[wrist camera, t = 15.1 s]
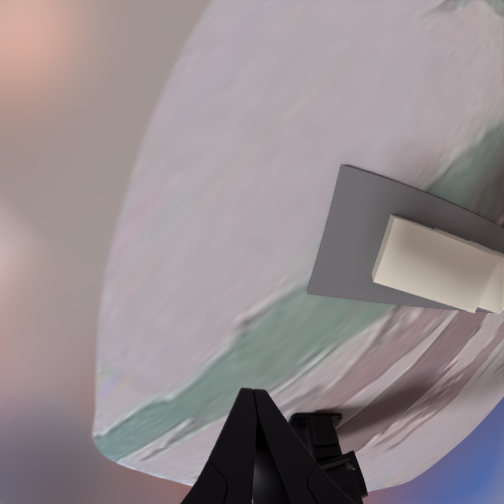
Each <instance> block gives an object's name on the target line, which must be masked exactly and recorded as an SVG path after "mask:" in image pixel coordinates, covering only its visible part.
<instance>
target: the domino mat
mask: <svg viewBox="0 0 504 504" xmlns="http://www.w3.org/2000/svg"><path fill="white" fill-rule="evenodd" d="M390 214H391V215H394V216H397V217H400V218H403V219H406V220H409V221H412V222H415V223H418V224H420V225H423V226H426V227H429V228H431V229H435V228H437V229H439V230H442V231H445V232H447V233H450V234H452V235H455V236H457V237H460V238H462V239H465V240H467V241H470V240H471V241H473V242H475V243H478V244H480V245H482V246H485V247H487V248H489V249H492V250H494V251H495V250H496V251H498V252H501V253H503V254H504V228H502V227H500V226H498V225H496V224H495V223H493V222H491V221H489V220H486V219H484V218H482V217H480V216H478V215H476V214H474V213H472V212H470V211H467V210H465V209H463V208H461V207H458V206H456V205H454V204H452V203H449V202H447V201H444V200H442V199H440V198H437V197H435V196H432V195H430V194H427V193H425V192H422V191H419V190H417V189H414V188H412V187H409V186H406V185H403V184H401V183H398V182H395V181H392V180H389V179H386V178H383V177H380V176H377V175H374V174H371V173H368V172H365V171H361V170H358V169H355V168H352V167H348V166H345V165H341V166H340V170H339V175H338V179H337V183H336V187H335V191H334V195H333V199H332V203H331V207H330V211H329V215H328V219H327V222H326V226H325V230H324V234H323V237H322V241H321V244H320V248H319V251H318V255H317V258H316V262H315V265H314V269H313V272H312V275H311V279H310V282H309V285H308V288H307V292H308V294H313V295H320V296H328V297H336V298H344V299H352V300H360V301H368V302H377V303H386V304H395V305H405V306H415V307H425V308H436V309H447V310H459V311H465V310H462V309H459V308H456V307H453V306H449V305H446V304H443V303H440V302H437V301H433V300H430V299H427V298H424V297H420V296H417V295H414V294H411V293H407V292H404V291H401V290H398V289H394V288H391V287H388V286H385V285H381V284H378V283H375V282H373V278H372V271H373V268H374V265H375V262H376V259H377V256H378V253H379V250H380V247H381V244H382V241H383V238H384V235H385V231H386V228H387V225H388V221H389V218H390ZM475 312H486V313H494V312H491V311H488V310H485V309H482V308H479V307H477V309H476V311H475Z"/></svg>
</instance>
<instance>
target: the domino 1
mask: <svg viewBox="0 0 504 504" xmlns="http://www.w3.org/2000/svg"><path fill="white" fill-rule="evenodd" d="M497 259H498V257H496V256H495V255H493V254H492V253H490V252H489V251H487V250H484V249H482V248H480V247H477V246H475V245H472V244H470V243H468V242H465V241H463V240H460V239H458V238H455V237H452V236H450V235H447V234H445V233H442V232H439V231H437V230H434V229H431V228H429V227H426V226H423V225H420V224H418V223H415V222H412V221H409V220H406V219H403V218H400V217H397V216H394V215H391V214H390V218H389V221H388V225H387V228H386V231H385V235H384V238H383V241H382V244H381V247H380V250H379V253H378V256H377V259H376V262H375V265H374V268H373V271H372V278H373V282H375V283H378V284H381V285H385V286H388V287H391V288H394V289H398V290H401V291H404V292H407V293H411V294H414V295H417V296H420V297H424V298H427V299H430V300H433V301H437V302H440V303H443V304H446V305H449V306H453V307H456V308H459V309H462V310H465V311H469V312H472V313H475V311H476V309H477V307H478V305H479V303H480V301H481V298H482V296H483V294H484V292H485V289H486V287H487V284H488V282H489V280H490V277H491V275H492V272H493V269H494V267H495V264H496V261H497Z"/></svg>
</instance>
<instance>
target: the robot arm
mask: <svg viewBox="0 0 504 504" xmlns="http://www.w3.org/2000/svg"><path fill="white" fill-rule="evenodd" d="M342 418H343V417H342V414H296V415H292V416H291V417H290V419H289V421H288V422H287V420H286V419H285V417H284V416H283V415H282V413H281V412H280V410H279V409H278V407H277V406H276V404H275V403H274V401H273V400H272V399H271V397H270V396H269V394H268V393H267V391H266V390H264V389H251V388H241V389H240V391H239V393H238V395H237V398H236V400H235V402H234V404H233V407H232V409H231V411H230V413H229V415H228V418H227V420H226V422H225V424H224V426H223V429H222V431H221V433H220V435H219V437H218V439H217V441H216V444H215V446H214V448H213V450H212V452H211V454H210V456H209V458H208V461H207V462H206V464H205V466H204V468H203V470H202V472H201V474H200V476H199V477H198V479H197V481H196V483H195V484H194V485H193V487H192V488H191V490H190V491H189V493H188V494H187V495H186V497H185V498H184V499H183V501H182V502H181V503H180V504H252V497H253V504H363V501H362V498H364V497H367V496H368V494H367V489H366V485H365V481H364V478H363V475H362V472H361V469H360V467H359V464H358V461H357V458H356V456H355V453H354V450H353V451H350V452H349V453H346V454H343V455H342V452H341V448H340V445H339V439H338V436H337V433H336V430H335V428H336V427H337V425H338V424H339V422H340V421H341V419H342Z"/></svg>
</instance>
